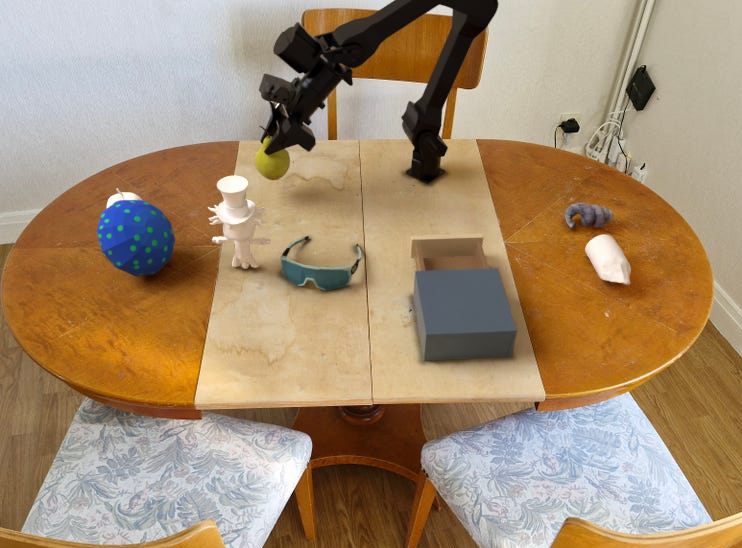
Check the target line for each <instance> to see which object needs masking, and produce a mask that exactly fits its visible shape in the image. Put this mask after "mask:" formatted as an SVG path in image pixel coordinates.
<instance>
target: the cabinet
mask: <svg viewBox="0 0 742 548" xmlns="http://www.w3.org/2000/svg"><path fill="white" fill-rule="evenodd" d="M413 281H414V282H413V294H412V298H413V299H412V300H413V304H414V305H413V306H414V310H415V317H416V323H417V329H418V333H419V334H418V335H419V340H420V346H421V353H422V359H423V361H424V362H426V361H427V362H429V361H448V360H470V359H471V360H472V359H490V358H491V359H493V358H511V357H512V354H513V350H514V346H515V341H516V338H517V333H518V329H517V325H516V323H515V320H514V316H513V313H512V309H511V306H510V303H509V300H508V297H507V293H506V290H505V286H504V283H503V281H502V276H501V273H500V270H499V267H493V268H492V267H490V268H489V267H488V269H461V270H433V271H417V270H415V271H414V280H413Z"/></svg>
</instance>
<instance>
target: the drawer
mask: <svg viewBox="0 0 742 548" xmlns="http://www.w3.org/2000/svg"><path fill="white" fill-rule="evenodd" d="M484 238H485V237H484V234H483V233H459V234H458V233H457V234H425V235H411V236H410V245H409V247H410V248H409V258H410V259H414V263H415V268H416V271H433V270H461V269H489V265H488V262H487V258H486V256H485V255H486V254H485V251H484V249H483V243H484Z"/></svg>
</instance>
